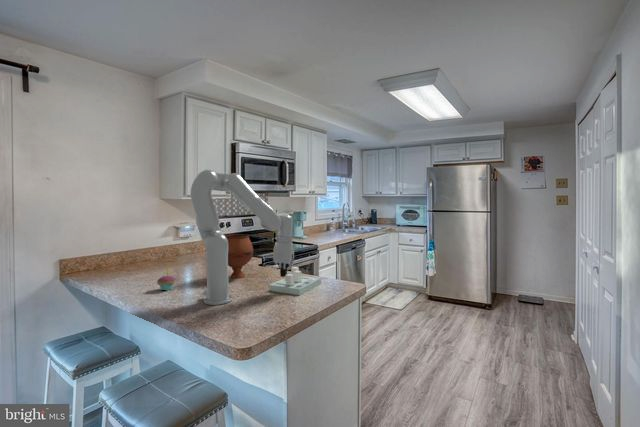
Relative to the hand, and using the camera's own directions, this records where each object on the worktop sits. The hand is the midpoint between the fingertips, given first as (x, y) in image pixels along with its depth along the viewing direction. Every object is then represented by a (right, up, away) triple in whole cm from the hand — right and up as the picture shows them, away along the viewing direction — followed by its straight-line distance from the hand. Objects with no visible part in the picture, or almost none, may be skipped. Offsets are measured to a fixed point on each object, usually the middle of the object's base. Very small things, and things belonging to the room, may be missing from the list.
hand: (283, 276), depth 165 cm
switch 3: (+7, -4, +6) cm, 10 cm away
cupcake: (-61, -8, +6) cm, 62 cm away
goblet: (-31, -7, +30) cm, 44 cm away
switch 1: (+3, -4, 0) cm, 5 cm away
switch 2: (+5, -3, +16) cm, 17 cm away
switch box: (+6, -7, +7) cm, 11 cm away
